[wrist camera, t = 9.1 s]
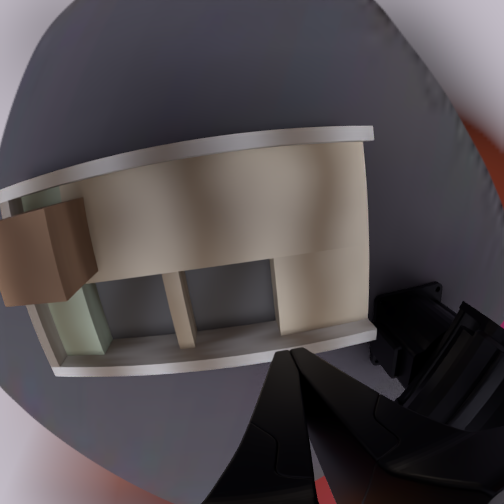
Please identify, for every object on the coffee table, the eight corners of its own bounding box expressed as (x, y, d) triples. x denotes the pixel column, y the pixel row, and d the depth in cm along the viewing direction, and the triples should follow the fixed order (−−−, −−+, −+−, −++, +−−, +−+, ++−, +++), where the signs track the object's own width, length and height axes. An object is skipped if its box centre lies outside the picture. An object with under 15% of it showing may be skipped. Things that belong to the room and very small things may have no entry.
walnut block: (83, 197, 16) (43, 208, 12) (98, 271, 17) (67, 301, 13) (26, 211, 16) (-17, 225, 11) (42, 278, 17) (5, 306, 13)
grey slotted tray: (345, 131, 19) (372, 125, 15) (353, 312, 22) (376, 339, 18) (30, 184, 17) (-3, 190, 14) (75, 347, 21) (55, 376, 17)
